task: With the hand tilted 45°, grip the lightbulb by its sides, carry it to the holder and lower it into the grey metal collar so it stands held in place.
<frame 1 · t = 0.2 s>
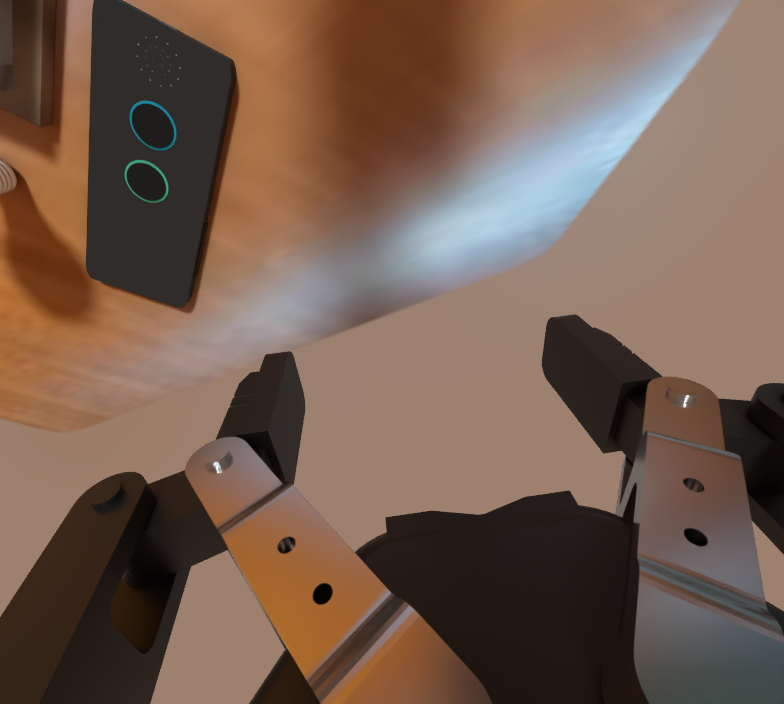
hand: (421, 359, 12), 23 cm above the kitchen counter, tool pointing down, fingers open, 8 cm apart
lightbulb: (3, 170, 28), on the kitchen counter
smart home device: (160, 178, 30), on the kitchen counter
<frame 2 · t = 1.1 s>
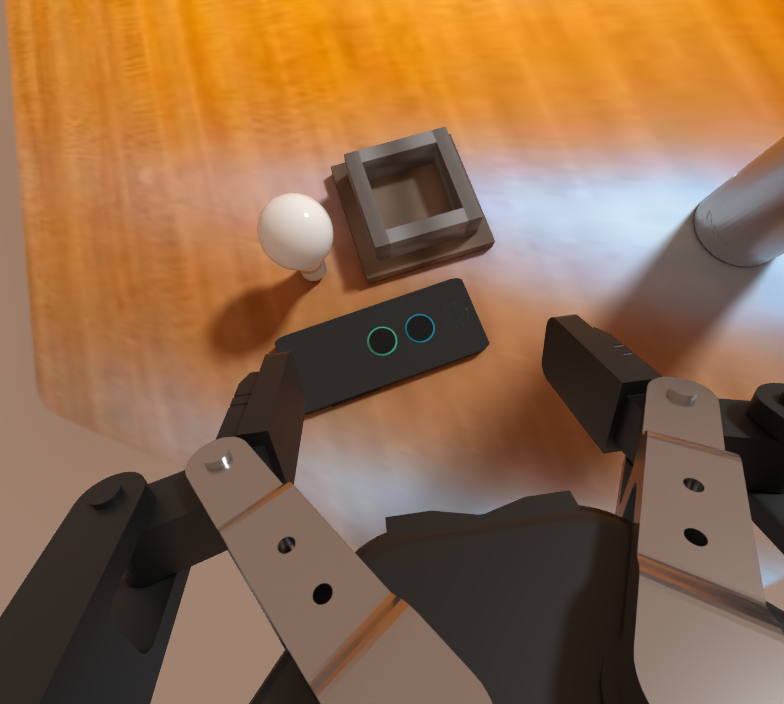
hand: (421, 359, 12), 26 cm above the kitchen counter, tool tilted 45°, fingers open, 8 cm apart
lightbulb: (315, 272, 41), on the kitchen counter
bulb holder: (410, 209, 42), on the kitchen counter
smart home device: (382, 347, 39), on the kitchen counter
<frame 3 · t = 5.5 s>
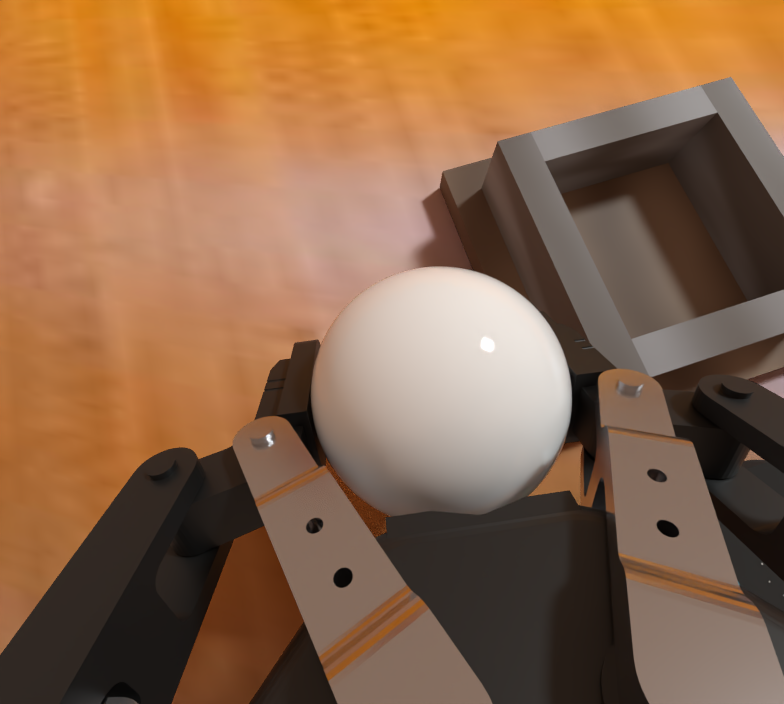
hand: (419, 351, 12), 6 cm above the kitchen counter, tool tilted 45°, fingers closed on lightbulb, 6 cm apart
lightbulb: (416, 415, 18), on the kitchen counter, touching gripper
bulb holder: (617, 265, 19), on the kitchen counter
smart home device: (586, 614, 16), on the kitchen counter
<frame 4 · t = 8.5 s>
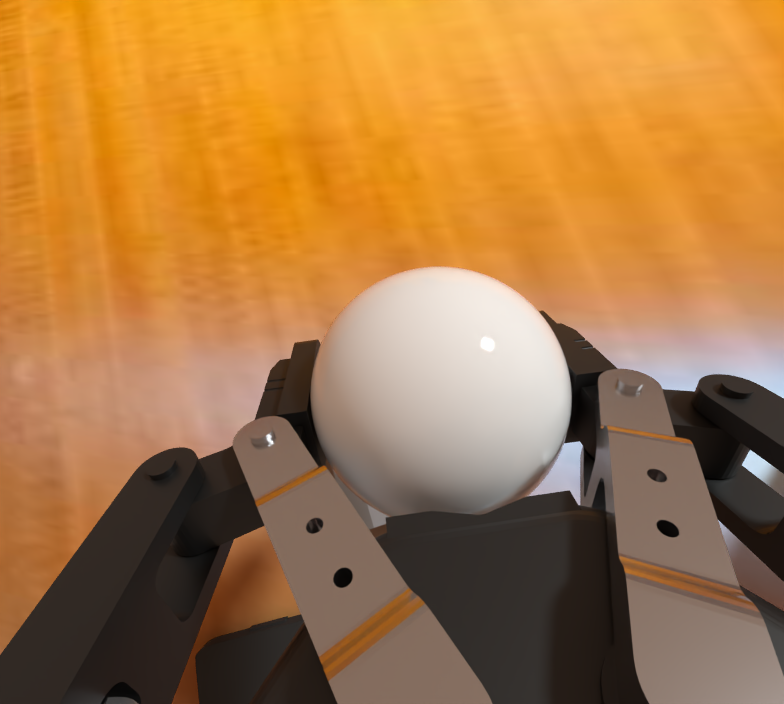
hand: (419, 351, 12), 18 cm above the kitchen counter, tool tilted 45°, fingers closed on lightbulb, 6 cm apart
lightbulb: (416, 415, 18), point 12 cm above the kitchen counter, touching gripper
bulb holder: (404, 425, 29), on the kitchen counter
smart home device: (359, 662, 26), on the kitchen counter
when the fingers open (8 cm above the kitchen counter, at t = 11.6 s): lightbulb drops 1 cm, resting on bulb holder.
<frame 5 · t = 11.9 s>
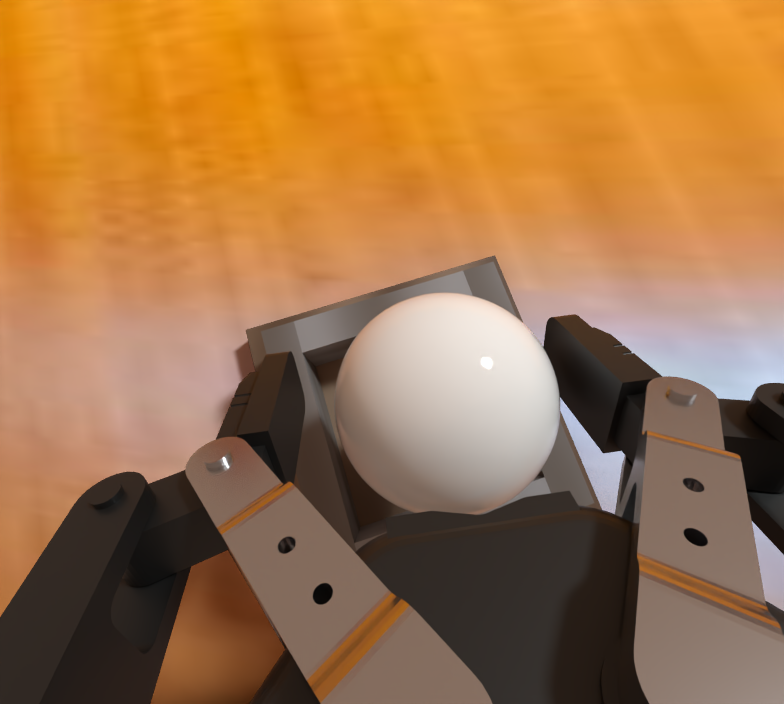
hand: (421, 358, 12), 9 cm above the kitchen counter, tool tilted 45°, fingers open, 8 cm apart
lightbulb: (422, 420, 19), point 1 cm above the kitchen counter, touching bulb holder
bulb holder: (413, 419, 20), on the kitchen counter
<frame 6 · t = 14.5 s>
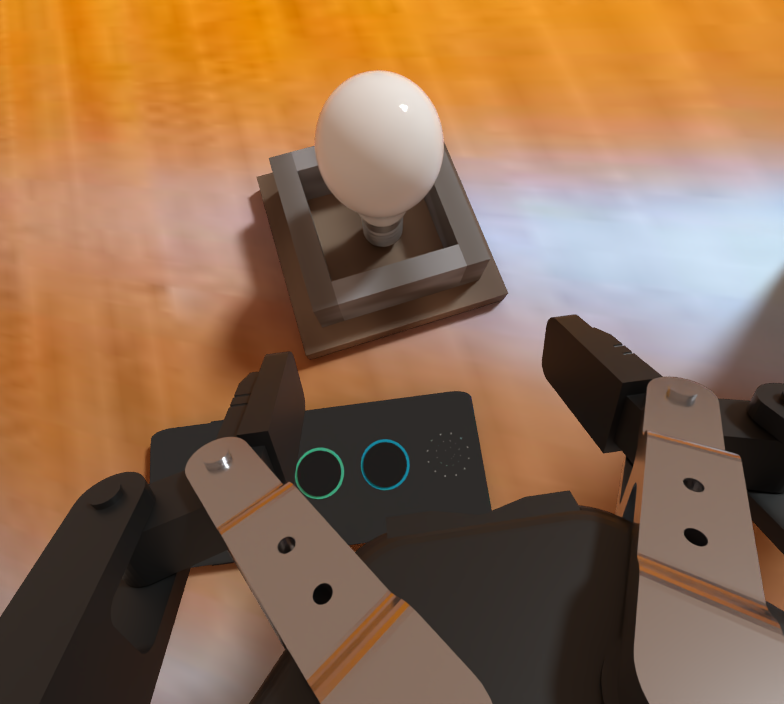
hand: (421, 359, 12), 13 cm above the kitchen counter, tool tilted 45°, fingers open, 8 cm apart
lightbulb: (383, 235, 27), point 1 cm above the kitchen counter, touching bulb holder
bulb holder: (377, 241, 28), on the kitchen counter
smart home device: (323, 474, 25), on the kitchen counter
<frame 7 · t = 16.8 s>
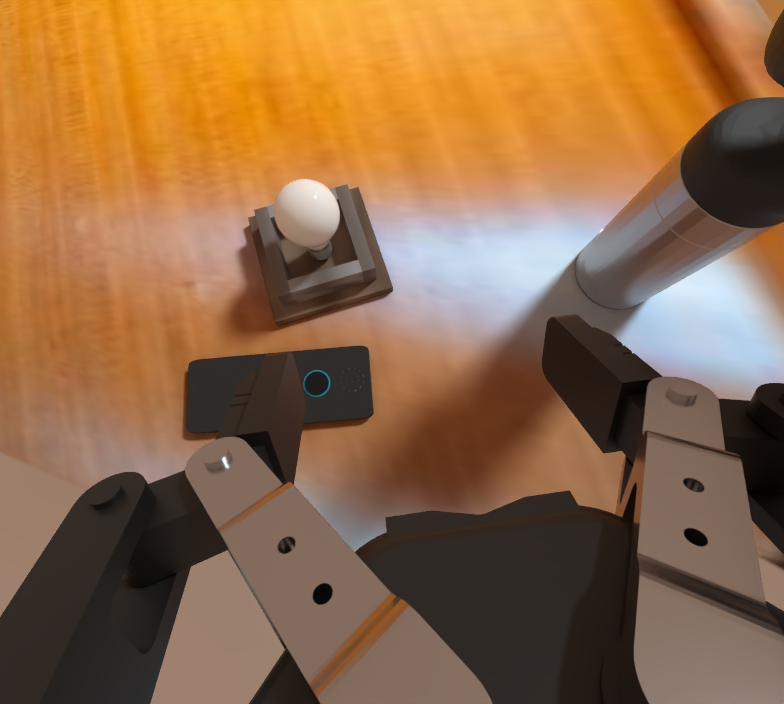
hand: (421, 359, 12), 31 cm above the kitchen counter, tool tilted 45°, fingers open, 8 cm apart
lightbulb: (322, 253, 45), point 1 cm above the kitchen counter, touching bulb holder
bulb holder: (320, 256, 46), on the kitchen counter
smart home device: (284, 390, 43), on the kitchen counter
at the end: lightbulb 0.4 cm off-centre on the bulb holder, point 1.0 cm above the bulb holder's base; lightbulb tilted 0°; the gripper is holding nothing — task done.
